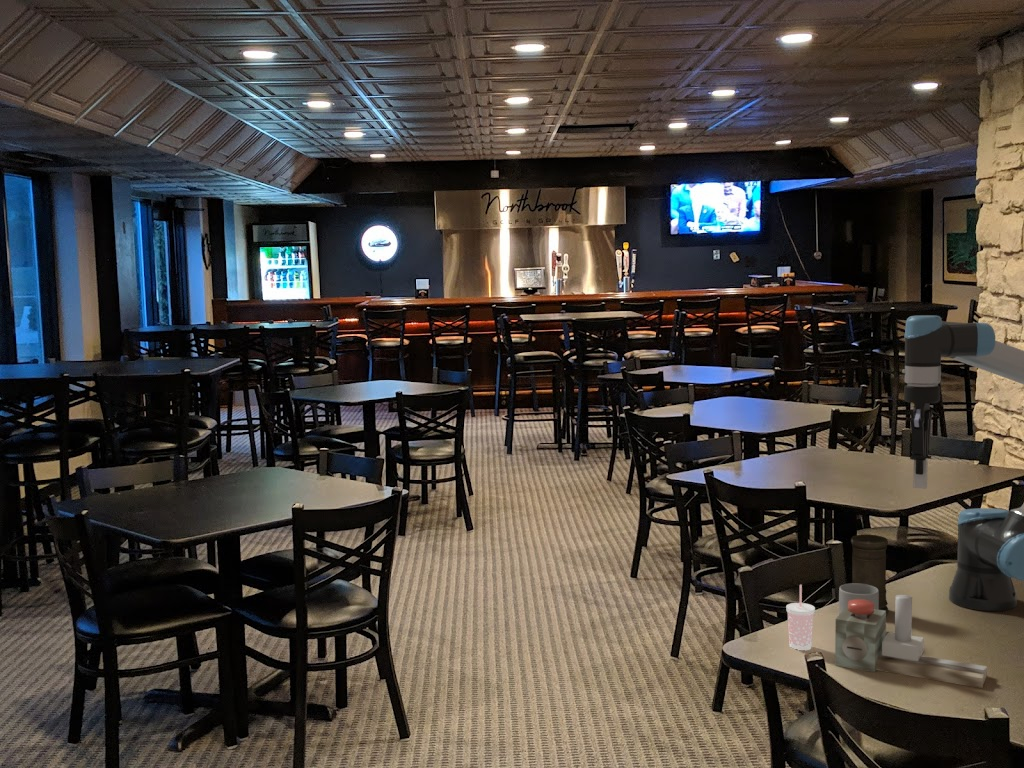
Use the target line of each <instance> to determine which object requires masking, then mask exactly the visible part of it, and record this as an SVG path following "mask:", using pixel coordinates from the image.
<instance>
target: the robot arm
mask: <svg viewBox="0 0 1024 768" xmlns="http://www.w3.org/2000/svg"><path fill="white" fill-rule="evenodd" d="M904 329H905V330H904V331H905V332H904V335H903V336H904V368H903V369H902V370H901V373H902V374H904V383H906V384H905V385H904V386H903V387H904V388H903V389H904V390H903V392H904V393H903V400H904V402H907V403H909V404H910V403H913V410H910V420H909V421H910V428H911V429H910V431H911V434H910V435H911V456H910V457H909V459H910V460H912V461H913V476H912V477H913V478H912V479H913V484H912V485H913V489H923V490H924V489H925V490H926V489H927V488H928V462H929V459H930V460H931V459H932V455H930V447H931V445H930V444H931V431H932V430H931V429H932V417H933V410H932V409H931V406H930V404H937V403H939V402H940V400H941V387H940V385H939V384H940V383H941V378H942V376H941V373H942V366H941V365H942V364H941V363H942V362H941V361H942V358H948V359H949V358H950V359H953V360H955V361H957V362H960V363H963V364H966V365H969V366H972V367H974V368H976V369H977V368H978V369H980V370H983V371H985V372H988V373H991V374H994V375H995V376H998V377H1002V378H1005V379H1008V380H1010V381H1012V382H1016V383H1018V384H1021V385H1024V350H1023V349H1021V348H1017V347H1015V346H1013V345H1008V344H1007V343H1003V342H1000V341H998V340H996V332H995V330H994V328H993V326H992V325H991V324H989V323H987V322H976V321H975V322H958V321H957V322H956V321H946V320H945V321H943V320H942V317H941V316H940V315H929V314H928V315H927V314H926V315H911V316H909V317H908V318H906V321H905V328H904ZM956 565H957V569H956V571H955V574H954V576H953V580H952V583H951V585H950V586H949V590H948V599H949V601H950V602H952V603H954V604H955V605H958V606H959V607H963V608H966V609H972V610H977V611H986V612H998V611H999V612H1000V611H1008V610H1011V609H1012V610H1013V609H1015V606H1016V607H1017V604H1018V603H1017V602H1018V600H1017V599H1018V598H1017V596H1018V595H1017V593H1016V591H1015V586H1014V584H1013V580H1012V579H1016V580H1018V581H1022V582H1024V502H1023V504H1022V505H1021V506H1020V507H1017V508H1013V509H1010V510H1008V509H1004V508H994V507H993V508H989V507H988V508H986V507H981V508H978V507H977V508H967V509H963V510H961V511H960V512H959V513H958V519H957V564H956Z"/></svg>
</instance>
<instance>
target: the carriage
mask: <svg viewBox="0 0 1024 768" xmlns="http://www.w3.org/2000/svg"><path fill="white" fill-rule="evenodd" d="M894 599H895V605H894V606H895V607H894V608H895V609H894V610H895V611H894V632H891V631H889V632H887V633H886V636H885V638H884V639H883V641H882V655H883V656H889V657H895V658H901V659H907V660H913V661H918V660H919V659H920V657H921V656H923V653H924V645H925V644H924V643H925V642H924V637H922V636H915V635H912V620H913V616H912V615H913V596H910V595H908V594H897V595H895V597H894Z"/></svg>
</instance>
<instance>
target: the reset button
mask: <svg viewBox="0 0 1024 768" xmlns="http://www.w3.org/2000/svg"><path fill="white" fill-rule="evenodd" d="M848 611H849V612H851V613H854V614H855V617H860V618H866V619H867V615H868V614H872V613H874V603H873V602H871V601H868V600H863V599H854V600H850V601H848Z"/></svg>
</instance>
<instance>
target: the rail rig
mask: <svg viewBox="0 0 1024 768" xmlns="http://www.w3.org/2000/svg"><path fill="white" fill-rule="evenodd" d="M886 616H887V614H886V611H885V610H878V609H874V613H872V614H868V615H867V619H866V618H860V617H855V614H854V613H851V612H849V611H848V605H847V606H846V607H845V609H844V610H843V611H842V612H841V613H840V614H839V613H838V616H837V617H835V629H834V630H835V638H834V642H835V643H834V653H835V654H834V657H835V659H834V665H835V666H837V667H843V668H849V669H855V670H860V671H865V672H872V673H876V671H881V672H882V671H883V672H886V673H892V674H893V673H894V674H897V675H903V674H904V676H909V677H916V678H921V679H928V680H933V681H938V682H944V683H948V684H949V683H951V684H957V685H960V686H961V685H962V686H967V687H974V688H977V689H978V688H979V689H983V687H984V685H985V681H986V679H987V677H988V666H987V665H981V664H975V663H969V662H962V661H957V660H951V659H944V658H938V657H933V656H926V655H921V657H920V659H919V660H918V661H913V660H907V659H901V658H895V657H889V656H883V655H882V641H883V639H884V638H885V636H886V635H887V633H886V631H887V628H886V626H887V624H886V623H887V617H886Z"/></svg>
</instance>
